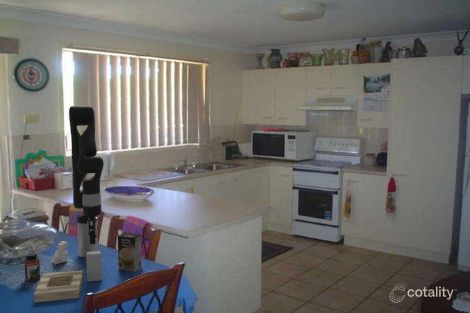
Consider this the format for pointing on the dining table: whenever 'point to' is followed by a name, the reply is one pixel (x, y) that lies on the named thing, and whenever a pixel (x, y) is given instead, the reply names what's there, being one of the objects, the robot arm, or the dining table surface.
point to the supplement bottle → (32, 267)
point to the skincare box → (94, 266)
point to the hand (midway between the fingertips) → (93, 240)
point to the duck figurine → (61, 253)
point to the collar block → (59, 286)
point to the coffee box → (129, 252)
